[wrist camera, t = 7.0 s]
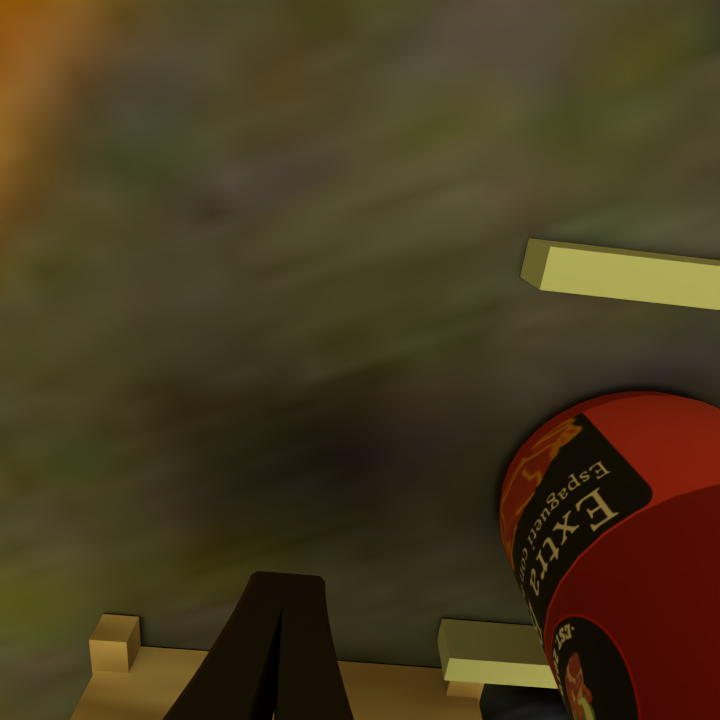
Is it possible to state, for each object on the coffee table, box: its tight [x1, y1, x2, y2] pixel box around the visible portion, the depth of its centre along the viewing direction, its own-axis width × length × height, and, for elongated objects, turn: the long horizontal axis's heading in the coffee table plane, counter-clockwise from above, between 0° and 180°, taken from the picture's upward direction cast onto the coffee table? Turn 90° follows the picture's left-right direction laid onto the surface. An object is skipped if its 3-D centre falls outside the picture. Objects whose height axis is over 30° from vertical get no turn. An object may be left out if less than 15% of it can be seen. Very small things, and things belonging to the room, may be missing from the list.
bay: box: [437, 238, 720, 688], centre depth 15 cm, size 14×11×2 cm
